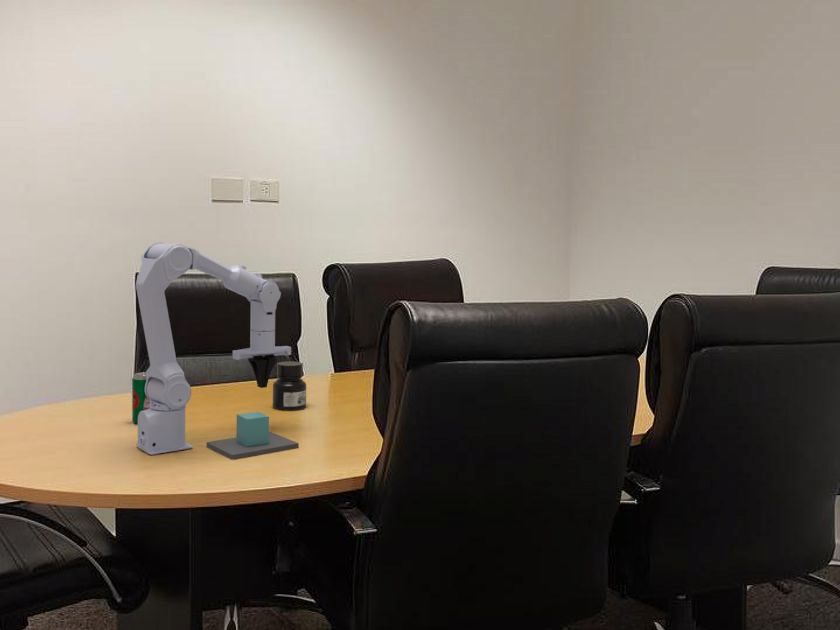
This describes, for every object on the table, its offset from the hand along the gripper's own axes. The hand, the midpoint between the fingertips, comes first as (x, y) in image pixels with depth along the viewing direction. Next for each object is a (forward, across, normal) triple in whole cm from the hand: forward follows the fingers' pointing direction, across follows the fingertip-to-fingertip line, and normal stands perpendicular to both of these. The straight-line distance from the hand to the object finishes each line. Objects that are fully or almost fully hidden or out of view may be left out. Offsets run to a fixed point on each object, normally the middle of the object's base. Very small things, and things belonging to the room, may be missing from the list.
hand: (262, 387), depth 186 cm
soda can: (+11, +20, -22) cm, 32 cm away
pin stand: (+10, +9, +12) cm, 18 cm away
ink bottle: (+11, -18, -17) cm, 27 cm away
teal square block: (+9, +9, +12) cm, 18 cm away
